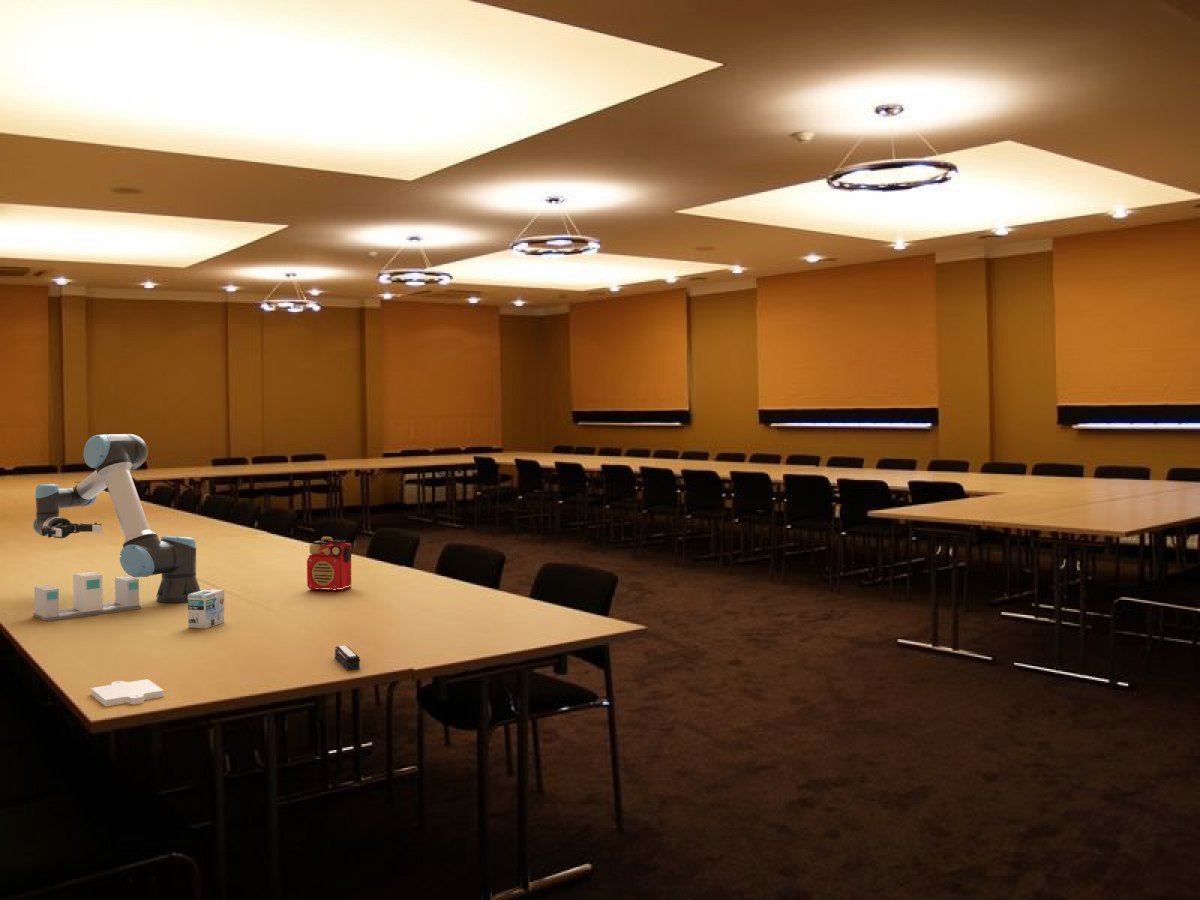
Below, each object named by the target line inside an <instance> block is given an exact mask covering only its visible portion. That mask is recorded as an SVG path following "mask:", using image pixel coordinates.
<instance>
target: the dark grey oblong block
mask: <svg viewBox="0 0 1200 900" xmlns="http://www.w3.org/2000/svg"><path fill="white" fill-rule="evenodd" d="M334 659H335V660H336V661H337V662H338V663H339V664H340V665H341V666H342V667H343V668H344V669H345V671H357V670H361V668H360V667H361V666H360V662H361V658H360V656H358V654H357V653H355V652H354V651H353V650H352V649H351V648H350V647H349V646H348V645H339V646H338V645H337V646H335V647H334Z"/></svg>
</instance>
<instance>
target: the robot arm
mask: <svg viewBox="0 0 1200 900" xmlns="http://www.w3.org/2000/svg"><path fill="white" fill-rule="evenodd" d="M83 449H84V450H83V459H84V462H85V464H86V466H88V467H90V468H92V469H95V470H94V471H93V472H91V473H90V474H89V475H88V476H87V477H85V478H84V479H83V480H82V481H80V482H79V483H77V484H76V485H75V486H74V487H65V488H64V487H63V488H62V487H61V488H59V484H57V483H45V484H38V485H36V487H35V495H34V497H35V506H36V512H35V513H36V514H35V519H34V520H33V522H32V530H33V531H34V532H35V533H37V534H38V535H40V536H41V537H42V536H43V537H47V538H53V539H54V540H55V539H65V538H67V537H69V535H71V534H77V533H81V532H82V533H83V532H84V533H87V532H88V533H89V532H92V533H96V534H102V533H103V526H102V523H98V522H94V523H82V522H81V523H75V522H74V523H72V522H71V520H69V519H68V518H65V517H60V509H67V508H79V507H80V508H84V507H88V506H89V507H90V506H92V505H93V504H95V503H96V500H97V496H98V495H99V494H101V493H102V492H103V491H104V490H106V489H107V491H108V493H109V496H110V499H111V502H112V504H113V508H114V510H115V514H116V516H117V519H118V522H119V525H120V527H121V530H122V533H123V536H124V541H123V543H122V549H121V550H120V553H119V556H120V557H119V563H120V566H121V567H122V570H123V571H124V572H125V573H126V574H127V575H129V577H132V578H148V577H151V576H156V575H161V580H160V584H159V586H158V589H157V591H156V602H157V603H166V604H167V603H169V604H175V603H188V594H191V593H195V592H198V591H202V589H201V587H200V585H199V582H198V579H197V547H196V546H197V545H196V540H195V538H193V537H191V536H173V535H172V536H171V535H163V536H161V538H160V539H159V535H158V534H157V533H156V532H154V531H152V529H151V528H150V525H149V521H148V519H147V517H146V514H145V511H144V508H143V506H142V503H141V500H140V499H141V498H140V497H139V494H138V492H137V487H136V486H135V483H134V480H133V477H132V473H131V472H133V471H135V470H137V469H138V468H139V467H140V466H141V465H142V464H144V462H145V461H146V460H147V458H148V454H149V449H148V445H147V443H146V442H145V440H144V439H143V438H141V437H140V436H138V435H136V434H132V433H128V434H127V433H123V434H121V433H120V434H119V433H118V434H115V433H114V434H113V433H111V434H106V433H102V434H96V435H93V436H91V437H90V438H89V439H88V440H87V441H86V443H85V445H84V448H83Z"/></svg>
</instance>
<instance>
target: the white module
mask: <svg viewBox="0 0 1200 900" xmlns="http://www.w3.org/2000/svg"><path fill="white" fill-rule="evenodd" d="M72 583H73V587H72V589H73V593H72V594H73V608H74V609H76V610H79V611H83V612H88V611H95V610H103V604H104V603H103V602H104V599H103V598H104V597H103V596H104V595H103V592H104V591H103V574H102V573H97V572H95V571H87V572H77V573H73V574H72Z"/></svg>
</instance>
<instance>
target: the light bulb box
mask: <svg viewBox="0 0 1200 900" xmlns="http://www.w3.org/2000/svg"><path fill="white" fill-rule="evenodd" d="M224 623H225V590H224V589H215V588H214V589H212V588H205V589H203V590H202V589H201V591H198V592H195V593H191V594H188V602H187V627H188V628H189V629H190V628H193V629H209V628H211V627H215V626H217V625H221V624H224Z"/></svg>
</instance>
